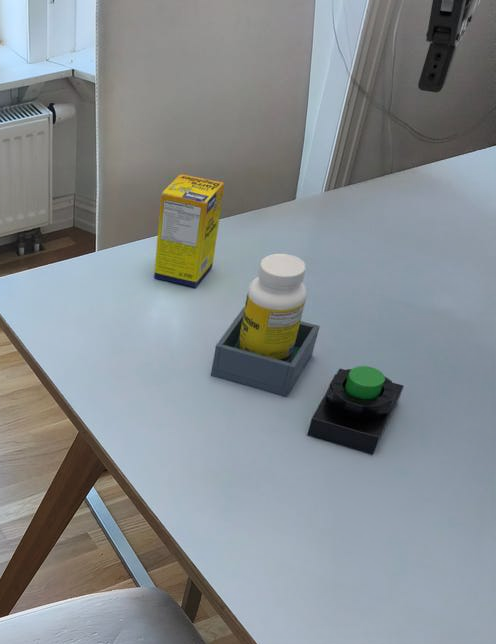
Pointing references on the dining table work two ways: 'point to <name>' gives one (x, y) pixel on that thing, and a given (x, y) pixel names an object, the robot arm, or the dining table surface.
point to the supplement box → (188, 229)
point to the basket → (262, 360)
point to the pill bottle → (274, 308)
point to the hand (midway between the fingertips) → (430, 88)
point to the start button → (364, 382)
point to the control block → (354, 415)
